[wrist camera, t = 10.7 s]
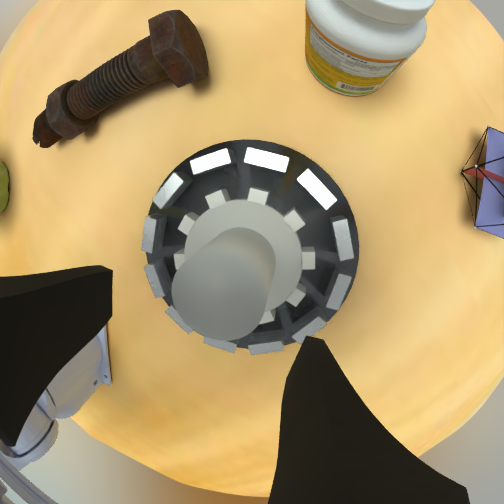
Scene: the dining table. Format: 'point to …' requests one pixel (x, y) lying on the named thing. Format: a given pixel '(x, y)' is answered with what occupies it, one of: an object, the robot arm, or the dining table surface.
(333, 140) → the dining table surface
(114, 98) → the bolt
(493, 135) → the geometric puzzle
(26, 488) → the robot arm
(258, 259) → the planet gear
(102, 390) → the dining table surface
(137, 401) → the dining table surface
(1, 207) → the plant pot
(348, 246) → the carrier
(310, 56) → the supplement bottle
